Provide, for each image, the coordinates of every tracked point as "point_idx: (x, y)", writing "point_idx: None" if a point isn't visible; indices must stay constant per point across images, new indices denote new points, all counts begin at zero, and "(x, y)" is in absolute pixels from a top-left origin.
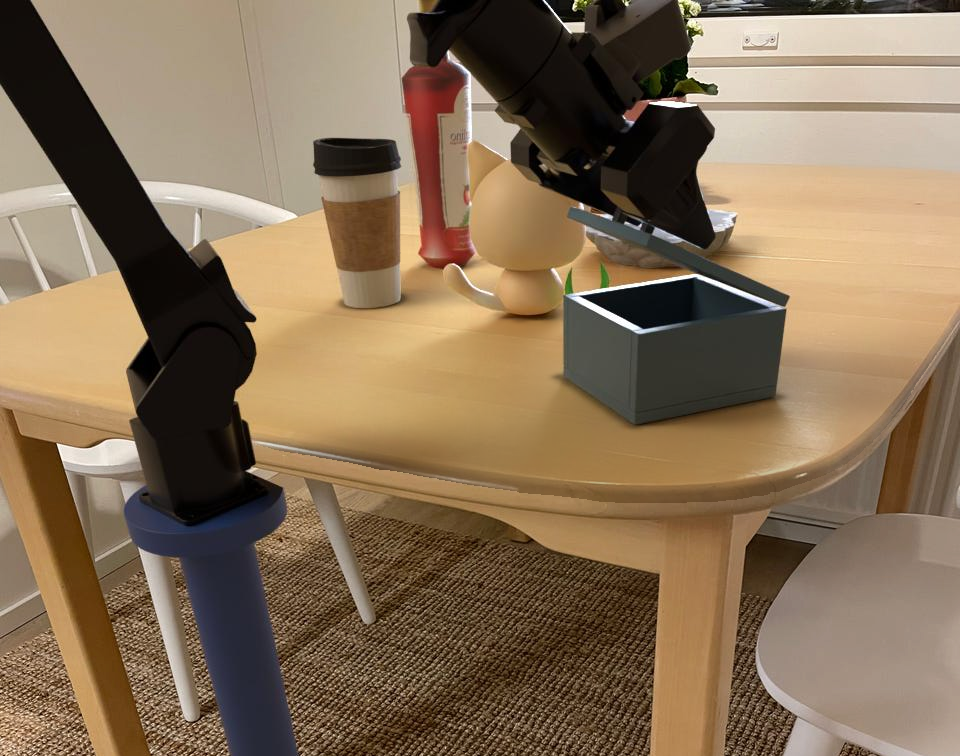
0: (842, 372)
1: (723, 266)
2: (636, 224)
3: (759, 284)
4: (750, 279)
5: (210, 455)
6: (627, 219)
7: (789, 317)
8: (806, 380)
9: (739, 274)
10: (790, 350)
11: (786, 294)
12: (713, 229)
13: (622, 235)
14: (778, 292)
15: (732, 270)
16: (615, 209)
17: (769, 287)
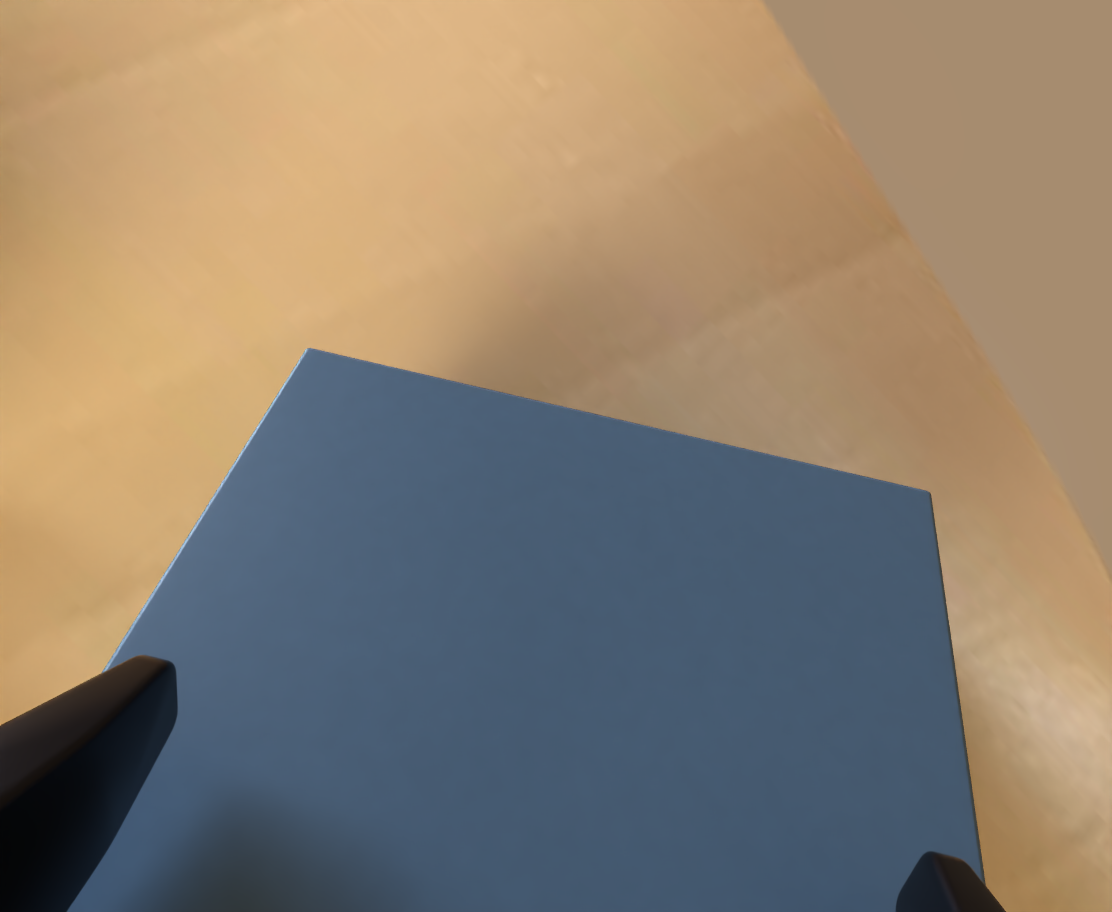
0: (773, 294)
1: (978, 848)
2: (168, 736)
3: (950, 635)
4: (956, 681)
5: None
6: (125, 804)
7: (357, 44)
8: (759, 404)
9: (965, 745)
10: (557, 250)
11: (931, 504)
12: (1001, 907)
13: None
14: (937, 543)
15: (969, 787)
16: (42, 910)
17: (941, 581)
